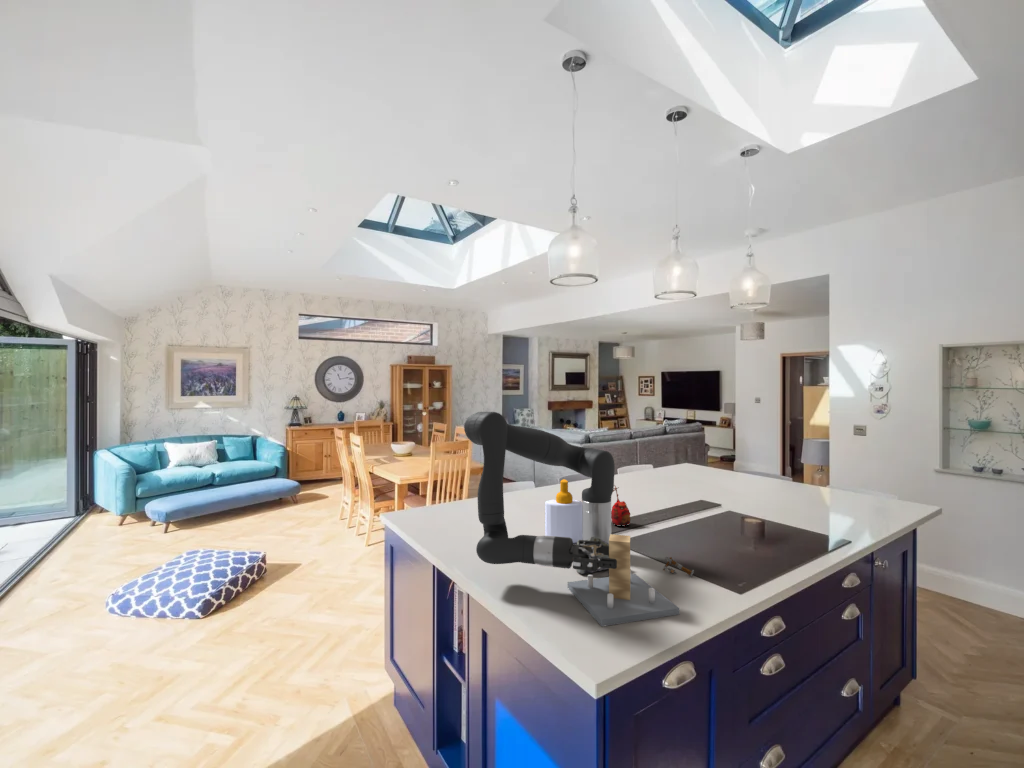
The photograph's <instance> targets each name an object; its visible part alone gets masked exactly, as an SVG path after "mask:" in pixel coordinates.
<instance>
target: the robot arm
mask: <svg viewBox="0 0 1024 768" xmlns="http://www.w3.org/2000/svg"><path fill="white" fill-rule="evenodd" d="M463 428H464V429H463V430H464V432H465V436H466V437H467V439H468V440H469V441H470V442H471V443H473V444H475V445H479V446H482V447H481V448H482V450H483V466H482V467H483V468H482V473H481V476H480V480H479V483H478V488H477V515H478V521H479V523H481V524H482V527H483V536H482V538H480V539H479V541H478V542H477V544H476V555H477V556H478V558H479V559H480V560H481V561H482V562H484V563H487V564H491V565H505V564H514V563H522V564H530V565H536V566H537V565H539V566H542V567H550V568H558V569H566V570H567V569H571V568H572V569H573V570H576V569H579V570H587V571H595V572H598V571H597V569H600V568H611V569H616V568H617V560H616V559H613V558H602V557H601V558H600V557H598V556H597V555H602V554H603V555H609V546H603V544H601V542H600V541H585V540H588V539H590V538H591V537H593V536H596V537H597V538H600V539H602V540H603V541H606V542H607V543H608V544H609V538H610V534H612V519H611V511H612V495H613V490H614V488H615V486H614V485H615V467H616V465H615V459H614V457H613V455H612V453H610V452H609V451H607V450H604V449H599V448H598V449H597V448H590V447H582V446H578V445H574V444H570V443H568V441H566V440H564V438H561V437H560V436H558V435H556V434H553V433H551V432H549V431H545V430H542V429H538V428H534V427H533V428H532V427H525V426H519V425H513V424H509V423H508V422H507V420H506V418H505V417H504V416H503V415H502V414H501V413H500V412H496V411H478V412H475V413H472V414H471V415H469V416H468V417H467V418H466V420H465V423H464V426H463ZM507 451H508V452H511V453H512V454H515V455H516V456H520V457H522V458H525V459H528V460H530V461H534V462H537V463H540V464H544V465H549V466H554V467H564V468H567V469H569V470H571V471H574V472H576V473H578V474H580V475H582V476H584V477H588V478H591V483H590V487H588V488H585V489H583V490H582V492H581V502H582V540H579V543H578V545H577V544H574V543H573V541H572V539H571V538H568V537H556V536H545V535H531V534H519V535H516V536H514V537H509V533H508V528H507V523H506V519H505V502H504V471H505V461H506V452H507Z"/></svg>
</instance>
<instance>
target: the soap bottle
mask: <svg viewBox="0 0 1024 768" xmlns="http://www.w3.org/2000/svg"><path fill="white" fill-rule="evenodd" d="M559 487H560V488H559V489H560V491H559V492H557V493H556V496H555V499H550V500H546V501H545V503H544V506H545V507H544V510H545V512H544V515H545V516H544V518H545V519H544V520H545V521H544V524H545V525H544V527H545V528H544V529H545V530H544V531H545V532H544V534H545V535H544V536H556V537H568V538H571V539H572V541H573V544H577V542H578V540H582V500H581V501H580V500H576V499H573V495H572V493H571V492H570V491H569V481H568V480H567V479H565V478H563V479H561V480H560V483H559Z"/></svg>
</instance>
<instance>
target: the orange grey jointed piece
mask: <svg viewBox="0 0 1024 768" xmlns="http://www.w3.org/2000/svg"><path fill="white" fill-rule="evenodd" d="M664 558H665V560H666V564H665V565H664V567H663V568H662V571H664V572H665V571H666V570H668V571H669V573H671V574H677V572H676V571H675V569H673V568H672V567H671V568H670V567H669V566H672V565H674V566H675V567H676V568H678V569H679V570H682V571H684V572H685V573H686V574H687V575H689V578H691V577H693V574H694V572H695V570H694V569H689V568H687V567H684V566H683V565H682V564H680V563H678V561H675V560H674V559H673V557H672V556H665V557H664Z"/></svg>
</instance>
